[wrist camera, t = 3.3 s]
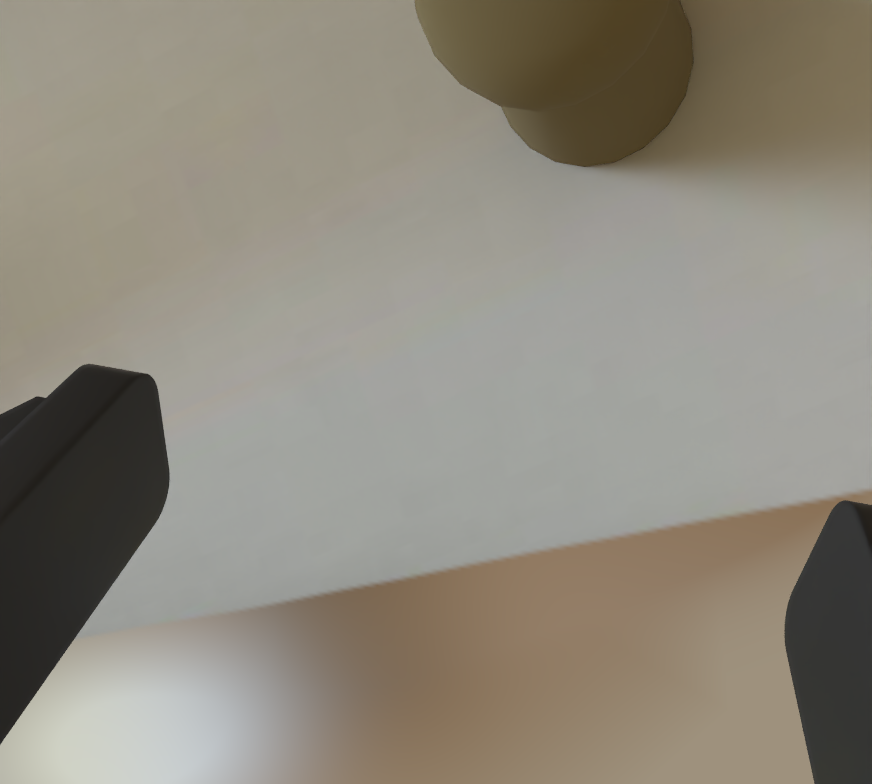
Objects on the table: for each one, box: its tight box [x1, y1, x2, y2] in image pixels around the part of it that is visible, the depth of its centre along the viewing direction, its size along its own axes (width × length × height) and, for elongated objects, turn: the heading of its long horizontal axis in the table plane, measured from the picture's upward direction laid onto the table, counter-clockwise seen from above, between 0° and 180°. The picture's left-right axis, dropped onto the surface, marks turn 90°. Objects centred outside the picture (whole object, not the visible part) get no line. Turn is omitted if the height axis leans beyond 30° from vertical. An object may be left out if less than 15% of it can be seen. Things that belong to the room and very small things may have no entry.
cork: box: [415, 0, 693, 167], centre depth 19 cm, size 6×6×11 cm
